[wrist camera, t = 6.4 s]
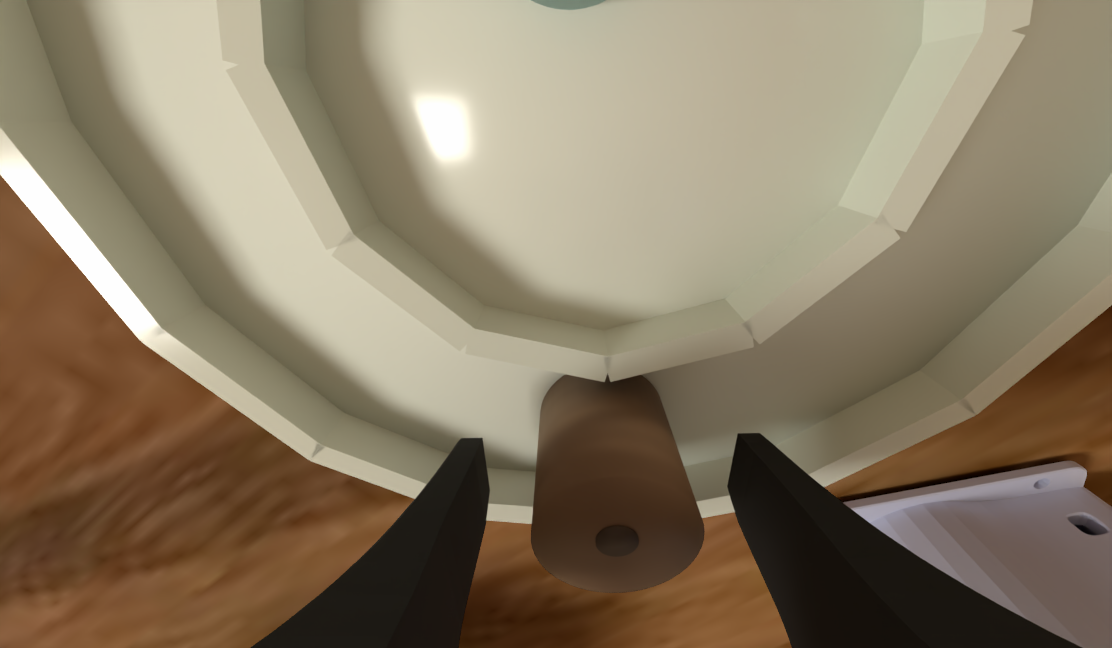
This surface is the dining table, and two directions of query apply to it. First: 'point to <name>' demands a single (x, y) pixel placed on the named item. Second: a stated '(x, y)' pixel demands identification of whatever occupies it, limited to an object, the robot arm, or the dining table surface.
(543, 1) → the teal bead
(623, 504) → the walnut bead
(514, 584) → the dining table surface
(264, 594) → the dining table surface
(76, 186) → the groove tray
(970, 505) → the robot arm
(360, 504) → the dining table surface
